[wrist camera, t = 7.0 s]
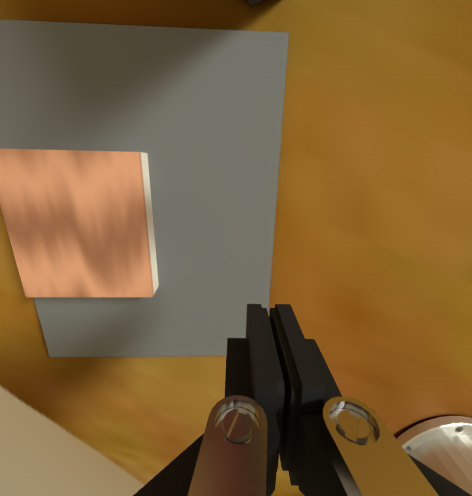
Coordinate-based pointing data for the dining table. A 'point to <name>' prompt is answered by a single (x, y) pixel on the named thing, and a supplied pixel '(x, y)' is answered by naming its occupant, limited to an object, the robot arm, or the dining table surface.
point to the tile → (80, 222)
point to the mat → (160, 168)
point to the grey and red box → (253, 1)
